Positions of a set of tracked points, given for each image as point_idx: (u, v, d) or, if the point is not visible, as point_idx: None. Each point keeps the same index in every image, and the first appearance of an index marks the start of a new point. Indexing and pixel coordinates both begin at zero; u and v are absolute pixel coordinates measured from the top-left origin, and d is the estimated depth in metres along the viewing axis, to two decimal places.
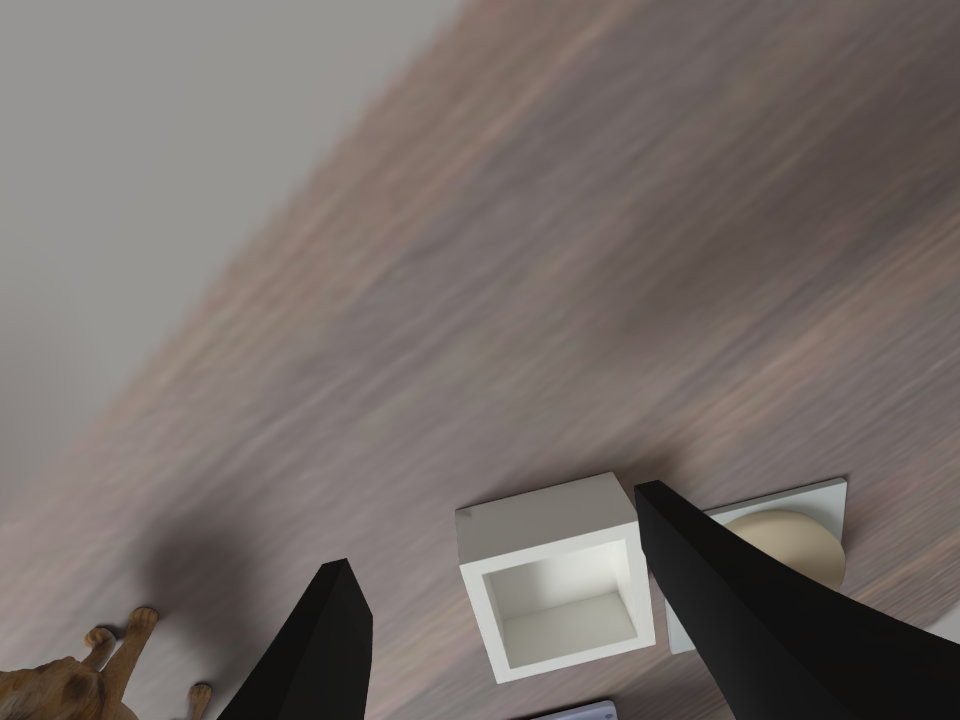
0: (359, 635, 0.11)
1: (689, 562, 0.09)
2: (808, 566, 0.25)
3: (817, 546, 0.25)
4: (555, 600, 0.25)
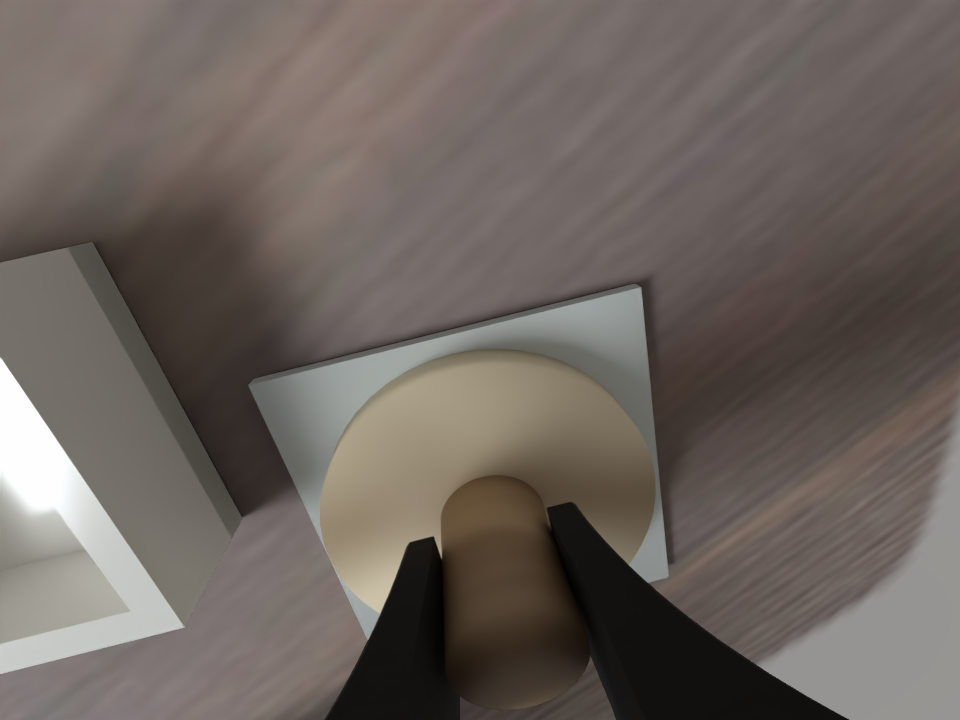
0: None
1: (581, 589, 0.09)
2: (574, 471, 0.12)
3: (583, 425, 0.12)
4: (54, 540, 0.12)
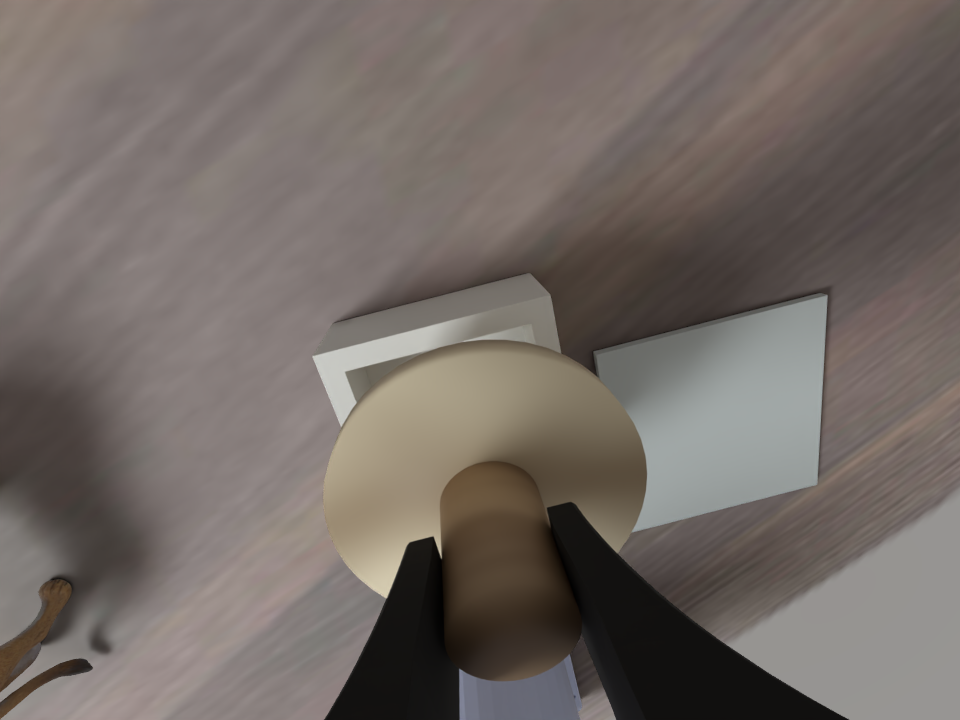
0: None
1: (581, 589, 0.09)
2: (565, 453, 0.13)
3: (571, 409, 0.12)
4: None
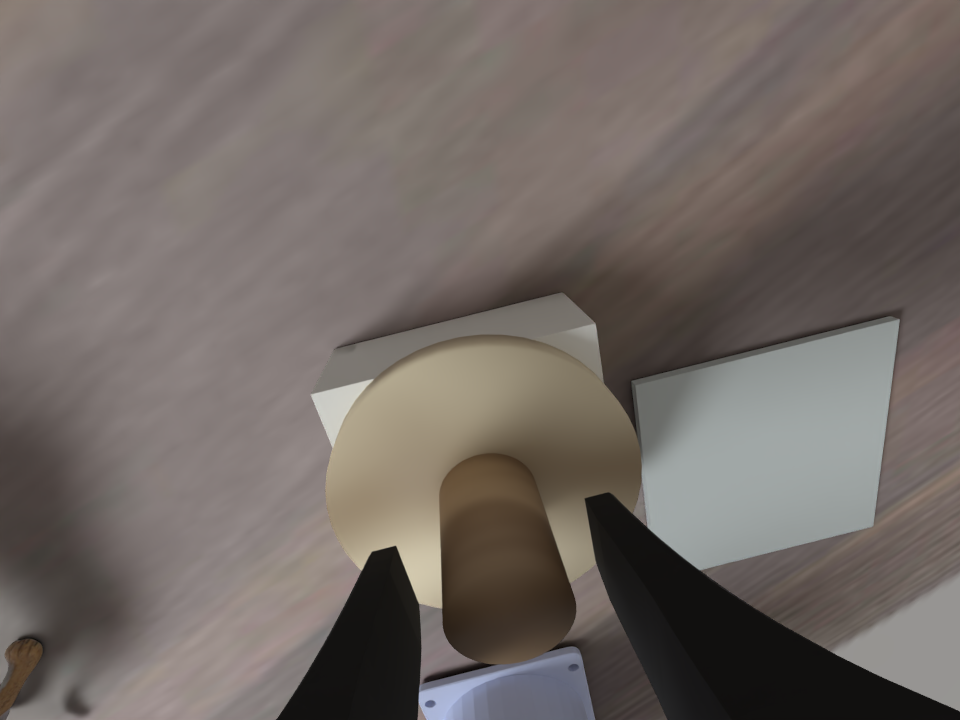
0: (410, 622, 0.11)
1: (628, 577, 0.09)
2: (561, 446, 0.13)
3: (566, 401, 0.13)
4: None
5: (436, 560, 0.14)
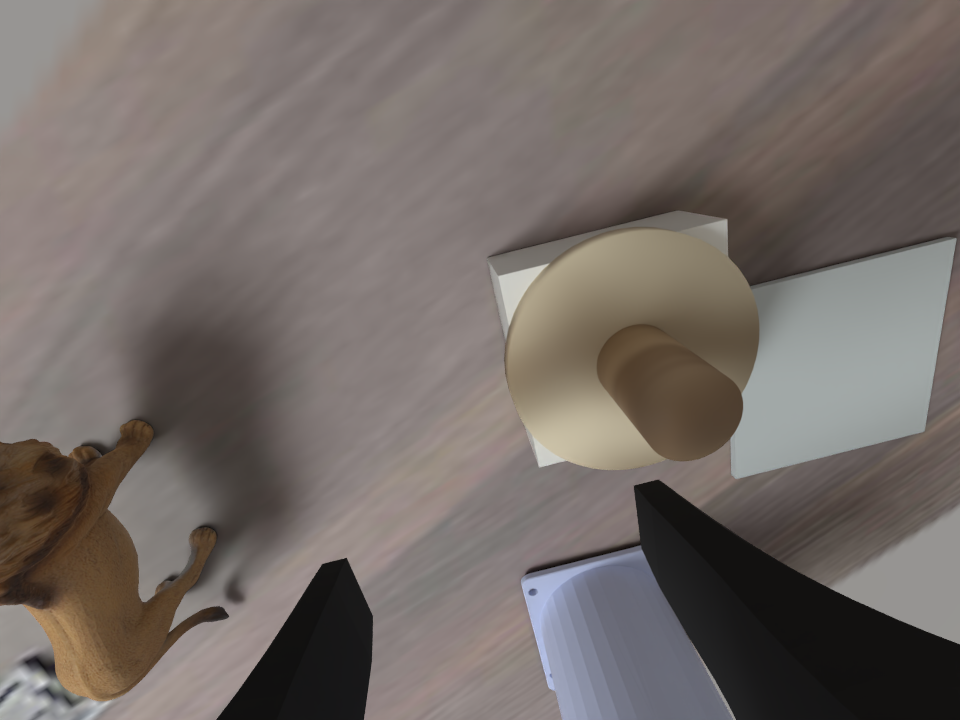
0: (359, 635, 0.11)
1: (689, 562, 0.09)
2: (698, 319, 0.16)
3: (706, 279, 0.16)
4: None
5: (587, 421, 0.17)
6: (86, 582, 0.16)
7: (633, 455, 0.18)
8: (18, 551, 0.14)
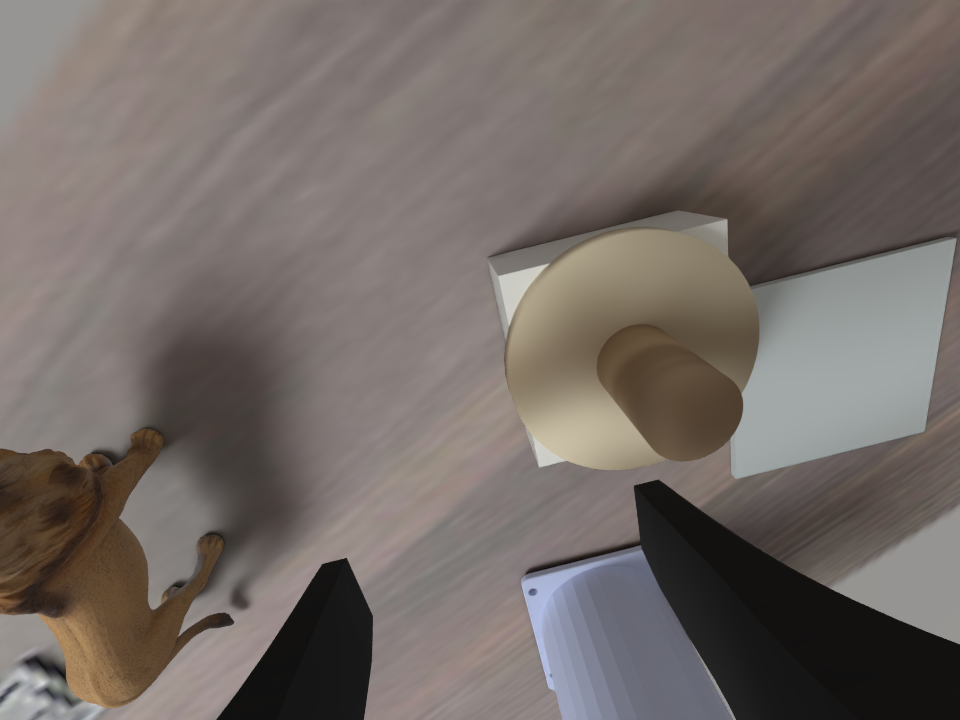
0: (359, 635, 0.11)
1: (689, 562, 0.09)
2: (698, 319, 0.16)
3: (706, 279, 0.16)
4: None
5: (587, 421, 0.17)
6: (99, 591, 0.17)
7: (633, 455, 0.18)
8: (35, 562, 0.15)
